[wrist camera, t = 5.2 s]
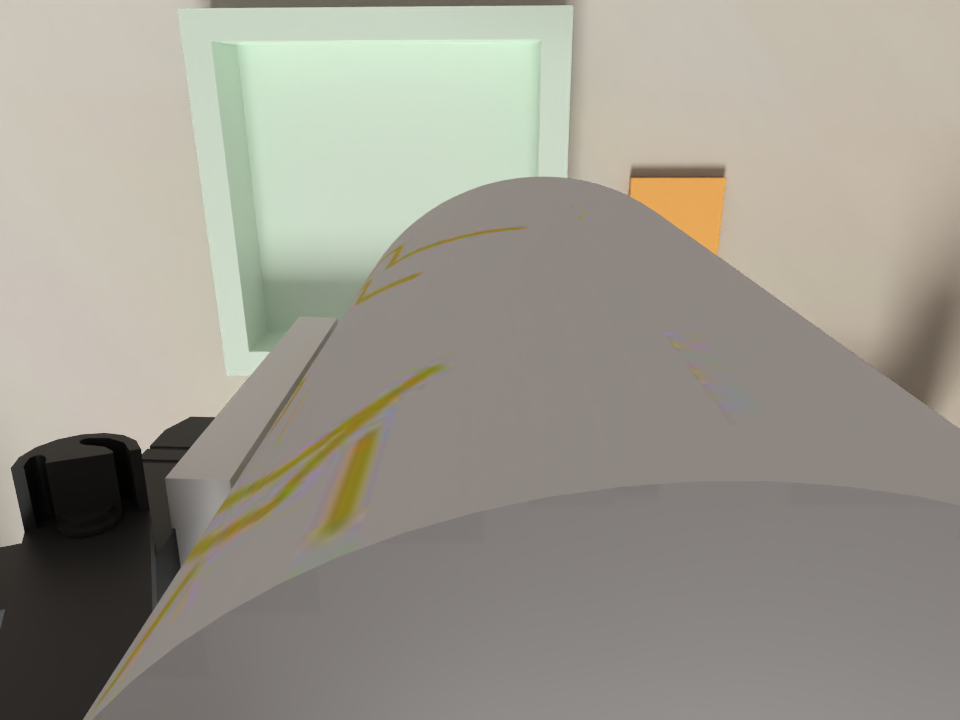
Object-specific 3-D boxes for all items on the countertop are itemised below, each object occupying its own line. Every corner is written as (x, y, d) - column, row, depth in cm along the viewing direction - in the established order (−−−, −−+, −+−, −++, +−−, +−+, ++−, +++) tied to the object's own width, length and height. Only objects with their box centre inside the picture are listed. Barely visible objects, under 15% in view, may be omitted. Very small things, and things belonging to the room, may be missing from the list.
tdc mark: (623, 287, 30) (624, 289, 30) (630, 177, 29) (631, 178, 28) (711, 287, 30) (713, 289, 30) (723, 177, 29) (725, 177, 28)
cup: (394, 126, 14) (29, 264, 3) (790, 238, 15) (1767, 712, 4) (314, 487, 17) (-35, 1290, 6) (652, 568, 17) (951, 1432, 6)
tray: (250, 349, 32) (226, 375, 29) (210, 16, 27) (176, 8, 24) (555, 351, 31) (559, 377, 28) (565, 13, 27) (573, 5, 24)
